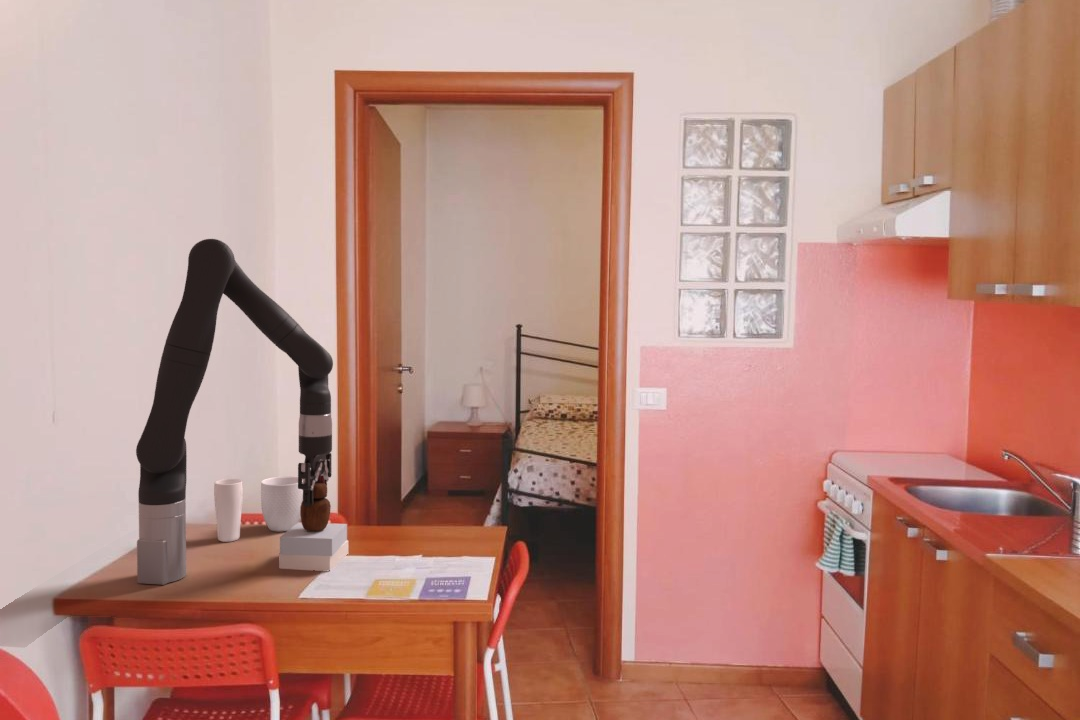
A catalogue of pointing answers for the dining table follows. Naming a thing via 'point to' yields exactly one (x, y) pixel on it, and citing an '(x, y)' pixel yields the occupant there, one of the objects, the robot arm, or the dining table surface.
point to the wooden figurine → (316, 508)
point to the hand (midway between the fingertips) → (315, 501)
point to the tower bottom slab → (312, 560)
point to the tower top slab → (313, 540)
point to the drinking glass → (228, 508)
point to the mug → (281, 502)
